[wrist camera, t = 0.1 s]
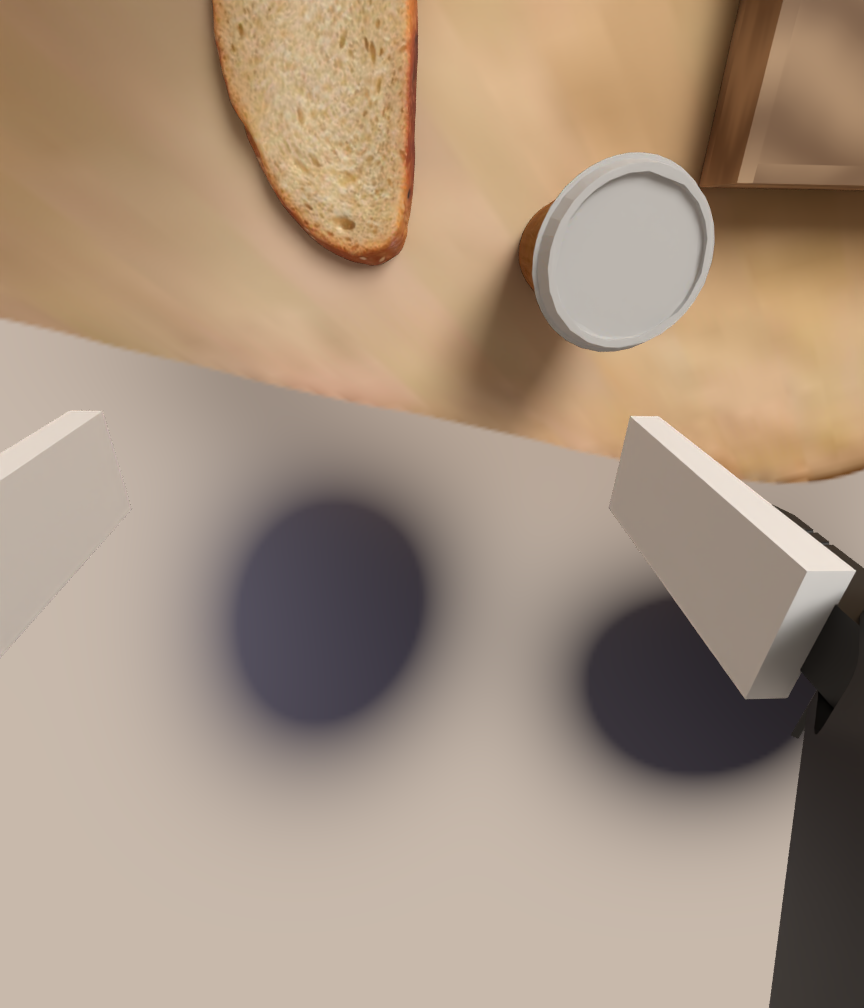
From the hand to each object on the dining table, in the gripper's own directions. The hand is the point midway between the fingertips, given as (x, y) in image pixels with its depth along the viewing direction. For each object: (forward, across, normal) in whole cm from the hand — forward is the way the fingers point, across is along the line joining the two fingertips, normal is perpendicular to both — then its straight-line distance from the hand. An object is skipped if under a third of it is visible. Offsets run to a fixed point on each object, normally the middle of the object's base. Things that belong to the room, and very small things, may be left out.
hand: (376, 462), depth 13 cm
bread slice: (+29, -3, +13) cm, 32 cm away
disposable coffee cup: (+28, +12, +4) cm, 31 cm away
